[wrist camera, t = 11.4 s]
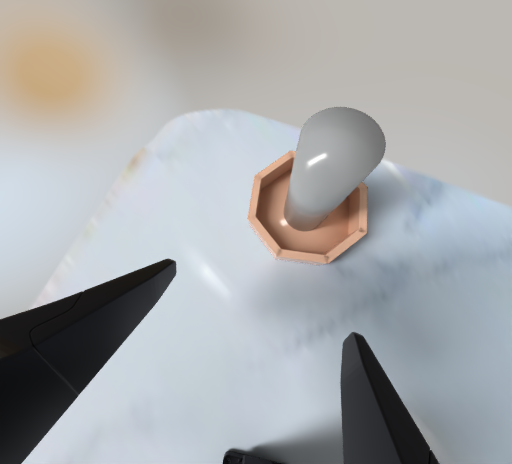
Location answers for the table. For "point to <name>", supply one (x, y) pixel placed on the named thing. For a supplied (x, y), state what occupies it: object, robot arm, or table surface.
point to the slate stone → (330, 164)
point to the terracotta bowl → (303, 242)
